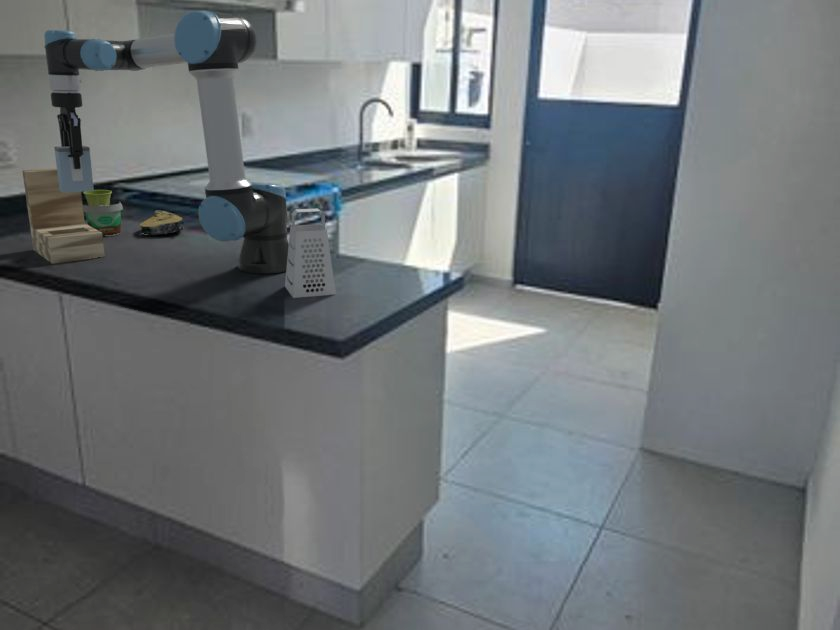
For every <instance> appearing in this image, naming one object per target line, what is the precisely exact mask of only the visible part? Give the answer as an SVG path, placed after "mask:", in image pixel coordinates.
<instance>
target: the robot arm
mask: <svg viewBox="0 0 840 630" xmlns="http://www.w3.org/2000/svg"><path fill="white" fill-rule="evenodd" d="M252 25H253V24H251V23H250V22H249V20H247V18H244V17H243V16H242V15H238V14H236V13H226V12H220V11H212V10H207V9H206V10H192V11H189V12H186V13H185V14H184V15H183V16H182V17H181V18H180V20H179V22H177V24H176V27H175V30H174V33H170V34H163V35H156V36H150V37H144V38H137V39H129V40H107V39H106V40H105V39H99V38H98V39H96V38H90V39H89V38H88V39H87V38H85V39H84V38H79V39H77V38H76V33H75V32H74V31H73V30H59V29H58V30H57V29H55V30H53V29H48V30H46V31H45V32H44V35H43V36H44V49H45V56H46V57H45V58H46V64H47V71H48V72H47V73H48V75H47V76H48V84H49V90H50V91H52V92H51V93H50V101H51V106H52V107H54V108H59V114H57V115H56V118H57V121H58V127H59V128H58V129H59V137H60V144H61V146H60V147H62V146H69V148H70V155H68V157H70V165H71V174H72V181H83V173H82V163H81V155H83V148H82V146H83V141H82V140H83V139H82V129H81V126H82V124H81V121H82V119H81V118H80V117H79V115H78V114H77V112H76V111H77V110H76V108H81V107H83V98H82V93H80V91H81V83H83V80H82V78H80V70H85V71H86V70H87V71H94V72H95V71H96V72H99V71H101V72H103V71H131V72H135V71H143V70H145V69H148V68H157V67H163V66H171V65H181V64H187V67H188V73H189V74H190V75H191V76H192V77H193V78H195V80H196V85H197V92H198V100H199V106H200V116H201V122H202V131H203V138H204V145H205V153H206V160H207V161H206V162H207V167H208V175H209V176H208V177H209V182H208V183H207V184H206V185H205V186H204V192H205V198H204V199H203V200H202V201H201V203H200V205H199V206H198V214H197V215H198V220H199V223H200V225H201V227H202V229H203V230H204V232H206V234H208V235H209V236H210V237H211V238H212V239H213V240H216V241H219V242H231V241H232V242H233V241H238V240H240V239H243V242H242V245H241V249H240V252H239V255H238V261H237V262H238V264H237V265H238V270H240V271H242V272H244V273H250V274H258V275H259V274H263V275H264V274H266V275H267V274H279V273H284V272H285V273H286V268H287V257H288V246H289V238H288V224H287V223H288V221H287V219H288V217H287V201H288V199H287V195H286V194H287V193H286V188H285V187H284V185H282V184H279V183H268V182H267V183H266V182H254V181H253V182H251V181H249V179H247V178H246V173H245V165H244V157H243V150H242V149H243V147H242V142H241V141H242V139H241V133H240V125H239V124H240V123H239V122H240V121H239V117H238V116H239V115H238V107H237V98H236V91H235V90H236V89H235V82H234V77H235V76H236V74H237V73H238V72H239V70H240V69H239V64H241V63H244V62H246V61H247V60H249V59H250V58H251V57H253V55H254V53H255V51H256V49H257V48H256V47H257V43H258V40H257V33H256V30H255V29H254V27H253V26H252Z"/></svg>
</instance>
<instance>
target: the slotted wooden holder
mask: <svg viewBox="0 0 840 630" xmlns="http://www.w3.org/2000/svg"><path fill="white" fill-rule="evenodd" d="M21 172H22V177H23V185H24V191H25V192H24V193H25V199H26V208H27V213H28V214H27V215H28V219H29V220H28V221H29V228H30V235H31V236H30V237H31V241H32V248H33V249H32V250H33V251H35V252H36V253H37V254H38V255H40V256H41V257H43V259H45V260H46V261H48V262H49V263H51V264H52V265H54V264H61V263H68V262H78V261H84V260H92V258H93V259H99V258H98V257H100V258H106V256H105V247H104V246H105V245H104V237H103V236H102V232H100V231H98V230H96V229H94V228H93V227H91V226H89V225H88V224H87V223H86V222H85V221H86V220H85V212H83V207H84V206H83V205H84V204H83V198H82V197H83V196H82V192H70V193H63V192H61V191H59V183H58V174H57V167H55V168H41V169H40V168H39V169H23V170H22V171H21Z"/></svg>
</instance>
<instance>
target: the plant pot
mask: <svg viewBox="0 0 840 630" xmlns="http://www.w3.org/2000/svg"><path fill="white" fill-rule="evenodd" d="M82 193H83V194H84V197H85V198H86V203H87V206H98V205H111V198H112V197H111V195H112V193H113V192H112V190H110V189H109V190H108V189H94V191H85V192H82Z"/></svg>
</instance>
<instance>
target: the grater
mask: <svg viewBox="0 0 840 630" xmlns="http://www.w3.org/2000/svg"><path fill="white" fill-rule="evenodd" d="M311 212H320V213H321V223H317V224H316V223H314V224H297V225H296V224H295V221H296V220H295V219H296V216H297V215H298V213H311ZM289 228H290V229H289V235H288V236H289V237H288V242H289V246H288V257H287V268H286V271H285V279H284V280H285V283H284V287H285V288H286V290H287V291H288V293H289V294H290V296H291V297H292V298H293V299H296V298H310V297H321V296H333V295H334V296H335V295H336V294H337V293H336V292H337V291H336V285H335V277H334V270H333V265H332V257H331V250H330V243H329V235H328V229H326V215H325V214H324V213H323V211H322V210H320V209H319V208H317V207H316V208H300V209H296V208H295V209H293V211H292V212H291V225H290V226H289ZM323 284H324V285H323ZM308 285H310V287H309V286H308ZM313 285H315V286H313ZM318 285H319V286H318ZM304 286H305V287H304ZM312 289H313V291H311V290H312ZM317 289H318V291H317ZM321 289H323V290H321ZM307 290H309V291H307Z"/></svg>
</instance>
